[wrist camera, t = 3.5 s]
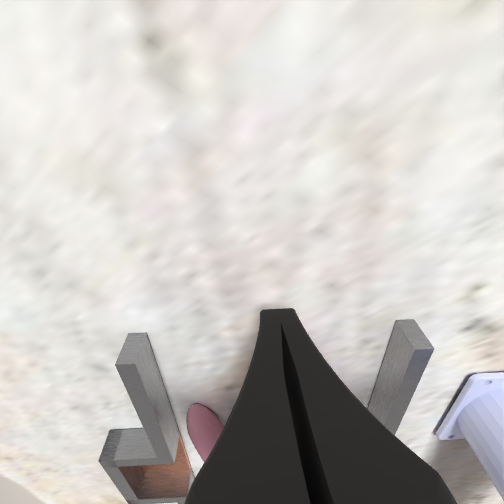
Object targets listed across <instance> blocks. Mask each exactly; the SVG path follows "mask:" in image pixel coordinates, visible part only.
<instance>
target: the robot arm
mask: <svg viewBox="0 0 504 504" xmlns="http://www.w3.org/2000/svg"><path fill="white" fill-rule="evenodd" d="M436 435H437V437H438V439H440V440H455V439H466V440H467V442H468V443H469V445H470V447H471V448H472V450H473V452H474V453H475V455H476V456H477V458H478V460H479V461H480V463H481V465H482V466H483V468H484V469H485V471H486V473H487V474H488V476H489V478H490V479H491V481H492V482H493V484H494V486H495V487H496V489H497V491H498V492H499V494H500V496H501V497H502V499H503V500H504V372H495V373H478V374H474V375H472V376H471V377H470V378H469V379H468V381H467V382H466V384H465V386H464V387H463V389H462V391H461V392H460V394H459V396H458V397H457V399H456V401H455V402H454V404H453V406H452V407H451V409H450V411H449V412H448V414H447V416H446V417H445V419H444V421H443V422H442V424H441V425H440V427H439V429H438V430H437V432H436ZM184 504H457V503H456V501H455V499H454V497H453V496H452V494H451V492H450V491H449V489H448V487H447V486H446V484H445V483H444V481H443V479H442V478H441V476H440V475H439V473H438V472H437V471H435V470H434V469H433V468H432V467H431V466H429V465H428V464H427V463H426V462H424V461H423V460H422V459H421V458H420V457H418V456H417V455H416V454H415V453H414V452H413V451H411V450H410V449H409V448H408V447H407V446H406V445H405V444H403V443H402V442H401V441H400V440H399V439H398V438H397V437H396V436H395V435H393V434H392V433H391V432H390V431H389V430H388V429H387V428H386V427H385V426H384V425H383V424H382V423H381V422H380V421H379V420H378V419H377V418H376V417H375V416H374V415H373V414H372V413H371V412H370V411H369V410H368V409H367V408H366V407H365V406H364V405H363V404H362V403H361V402H360V401H359V400H358V399H357V398H356V397H355V396H354V395H353V393H352V392H351V391H350V390H349V389H348V388H347V387H346V385H345V384H344V383H343V382H342V381H341V380H340V378H339V377H338V376H337V375H336V373H335V372H334V371H333V370H332V368H331V367H330V366H329V364H328V363H327V362H326V360H325V359H324V358H323V356H322V355H321V353H320V352H319V351H318V349H317V348H316V346H315V345H314V343H313V342H312V340H311V339H310V337H309V335H308V334H307V332H306V330H305V329H304V327H303V325H302V323H301V322H300V320H299V318H298V316H297V314H296V312H295V310H294V309H293V308H288V309H268V310H262V311H261V312H260V327H259V333H258V338H257V342H256V346H255V350H254V354H253V357H252V361H251V364H250V367H249V370H248V373H247V376H246V379H245V381H244V384H243V386H242V389H241V391H240V394H239V396H238V399H237V401H236V403H235V405H234V407H233V410H232V412H231V414H230V416H229V418H228V420H227V422H226V424H225V426H224V428H223V430H222V432H221V434H220V436H219V438H218V440H217V441H216V443H215V445H214V447H213V449H212V451H211V452H210V454H209V456H208V458H207V459H206V461H205V463H204V464H203V466H202V468H201V469H200V471H199V473H198V474H197V476H196V478H195V479H194V481H193V483H192V485H191V487H190V490H189V493H188V495H187V498H186V501H185V503H184Z"/></svg>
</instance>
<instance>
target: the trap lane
mask: <svg viewBox="0 0 504 504" xmlns="http://www.w3.org/2000/svg"><path fill="white" fill-rule="evenodd" d="M433 350H434V347H433V346H432V345H431V343H430V342H429V340H428V339H427V337H426V336H425V335H424V333H423V332H422V330H421V329H420V327H419V326H418V325H417V323H416V322H415V320H396V323H395V326H394V329H393V332H392V335H391V338H390V341H389V344H388V347H387V350H386V354H385V357H384V360H383V363H382V366H381V369H380V372H379V375H378V378H377V381H376V384H375V387H374V390H373V393H372V396H371V400H370V403H369V406H368V410H369V411H370V412H371V413H372V414H373V415H374V416H375V417H376V418H377V419H378V420H379V421H380V422H381V423H382V424H383V425H384V426H385V427H386V428H387V429H388V430H389V431H390V432H391V433H392V434H393V435H395V433H396V431H397V429H398V427H399V425H400V422H401V420H402V418H403V416H404V414H405V412H406V409H407V407H408V405H409V403H410V401H411V398H412V396H413V394H414V392H415V390H416V388H417V385H418V383H419V381H420V379H421V377H422V374H423V372H424V370H425V368H426V366H427V363H428V361H429V359H430V357H431V355H432V353H433ZM115 366H116V368H117V370H118V372H119V375H120V377H121V379H122V381H123V383H124V386H125V388H126V390H127V392H128V394H129V397H130V399H131V401H132V403H133V405H134V408H135V410H136V412H137V414H138V416H139V419H140V421H141V423H142V425H143V427H144V428H138V429H119V430H110V431H109V434H108V436H107V439H106V442H105V445H104V447H103V450H102V453H101V456H100V458H99V462H100V464H101V465H102V467H103V468H104V470H105V471H106V472H107V474H108V475H109V477H110V478H111V480H112V481H113V482H114V484H115V485H116V487H117V488H118V490H119V491H120V492H121V494H122V495H123V497H124V498H125V500H126V501H127V502H128V504H156V503H174V502H178V504H184V503H185V501H186V498H187V495H188V493H189V490H190V487H191V485H192V483H193V481H194V479H195V478H194V475H193V472H192V469H191V466H190V463H189V460H188V457H187V454H186V451H185V448H184V445H183V442H182V439H181V436H180V433H179V430H178V427H177V424H176V421H175V418H174V415H173V412H172V409H171V405H170V402H169V399H168V396H167V393H166V390H165V387H164V384H163V381H162V378H161V375H160V372H159V369H158V366H157V363H156V360H155V357H154V354H153V351H152V348H151V345H150V342H149V339H148V336H147V333H131V334H128V336H127V338H126V340H125V343H124V345H123V347H122V350H121V352H120V354H119V357H118V359H117V361H116V364H115Z"/></svg>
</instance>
